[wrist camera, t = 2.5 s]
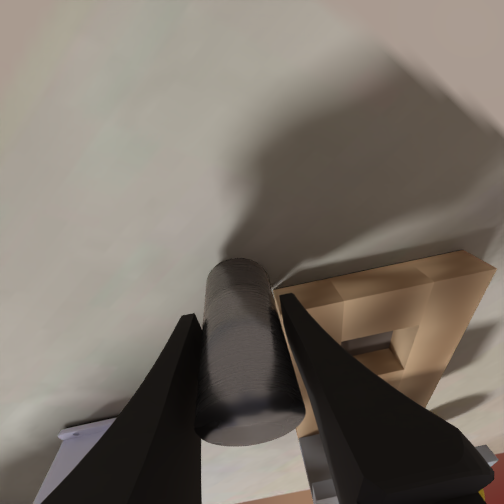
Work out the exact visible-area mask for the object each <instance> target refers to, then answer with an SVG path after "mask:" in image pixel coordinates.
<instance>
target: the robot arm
mask: <svg viewBox="0 0 504 504" xmlns="http://www.w3.org/2000/svg"><path fill="white" fill-rule="evenodd" d="M279 297H280V304H281V311H282V318H283V325H284V328H285V332H286V336H287V339H288V343H289V346H290V349H291V351H292V354H293V357H294V359H295V362H296V364H297V367H298V370H299V372H300V375H301V378H302V380H303V383H304V385H305V388H306V391H307V394H308V397H309V400H310V403H311V406H312V410H313V413H314V416H315V420H316V423H317V427H318V430H319V434H320V437H321V441H322V444H323V448H324V451H325V455H326V458H327V462H328V466H329V469H330V473H331V476H332V480H333V484H334V487H335V491H336V495H337V498H338V502H339V504H486V502H485V501H484V499H483V498H482V496H481V495H480V494H479V491H480V490H481V489H483V488H484V487H485V486H487V485H488V484H490V483H491V482H492V481H493V480H494V471H493V469H492V468H491V467H490V466H489V464H488V463H487V462H486V460H485V459H484V458H483V456H482V455H481V454H480V453H479V452H478V450H477V449H476V448H475V447H474V446H473V445H472V444H471V442H470V441H469V440H468V439H467V438H466V437H465V436H464V435H463V434H462V432H461V431H460V430H459V429H458V428H456V427H455V426H453V425H451V424H450V423H448V422H446V421H445V420H443V419H442V418H440V417H438V416H437V415H435V414H433V413H432V412H430V411H429V410H427V409H426V408H424V407H422V406H421V405H419V404H418V403H416V402H415V401H413V400H412V399H410V398H409V397H407V396H406V395H404V394H403V393H401V392H400V391H398V390H397V389H395V388H394V387H393V386H391V385H390V384H389V383H387V382H386V381H384V380H383V379H382V378H380V377H379V376H378V375H376V374H375V373H373V372H372V371H371V370H369V369H368V368H367V367H366V366H364V365H363V364H362V363H361V362H359V361H358V360H357V359H356V358H355V357H353V356H352V355H351V354H350V353H349V352H347V351H346V350H345V349H344V348H343V347H342V346H341V345H340V344H339V343H337V342H336V341H335V340H334V339H333V338H332V337H331V336H330V335H329V334H328V333H327V332H326V331H325V330H324V329H323V328H322V327H321V326H320V325H319V324H318V323H317V321H316V320H315V319H314V318H313V317H312V316H311V315H310V314H309V313H308V311H307V310H306V309H305V308H304V307H303V305H302V304H301V303H300V302H299V300H298V299H297V297H296V296H295V294H293V293H287V294H283V295H279ZM201 341H202V329H201V327H200V324H199V322H198V320H197V318H196V315H195V313H193V314H188V315H183V316H182V317H181V318H180V320H179V322H178V323H177V325H176V327H175V329H174V331H173V333H172V335H171V336H170V338H169V340H168V342H167V344H166V345H165V347H164V349H163V350H162V352H161V354H160V356H159V357H158V359H157V361H156V362H155V364H154V366H153V367H152V369H151V370H150V372H149V373H148V375H147V376H146V378H145V380H144V381H143V383H142V384H141V386H140V387H139V388H138V390H137V391H136V393H135V394H134V396H133V397H132V398H131V400H130V401H129V402H128V404H127V405H126V407H125V408H124V409H123V410H122V412H121V413H120V414H119V416H118V417H117V418H112V419H107V420H103V421H98V422H93V423H89V424H84V425H80V426H75V427H70V428H66V429H62V430H61V431H60V432H59V434H58V438H60V439H61V440H63V442H62V444H61V446H60V448H59V450H58V452H57V454H56V456H55V459H54V461H53V463H52V465H51V467H50V469H49V471H48V473H47V475H46V477H45V479H44V481H43V483H42V485H41V487H40V489H39V491H38V494H37V496H36V498H35V500H34V502H33V504H202V502H201V438H200V437H199V436H198V435H197V434H196V432H195V430H194V422H195V410H196V398H197V387H198V375H199V364H200V352H201Z"/></svg>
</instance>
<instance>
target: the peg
mask: <svg viewBox="0 0 504 504" xmlns="http://www.w3.org/2000/svg"><path fill="white" fill-rule="evenodd" d="M305 415H306V409H305V405H304V402H303V398H302V395H301V391H300V388H299V384H298V381H297V377H296V374H295V370H294V367H293V364H292V360H291V357H290V353H289V350H288V346H287V343H286V339H285V336H284V332H283V329H282V325H281V322H280V318H279V315H278V312H277V308H276V305H275V301H274V298H273V294H272V291H271V287H270V284H269V280H268V277H267V274H266V272H265V270H264V269H263V268H262V267H261V266H260V265H259V264H258V263H256V262H254V261H252V260H248V259H243V258H235V259H230V260H226V261H224V262H222V263H220V264H218V265H217V266H215V267H214V268H213V269H212V271H211V272H210V273H209V275H208V278H207V283H206V295H205V306H204V318H203V329H202V341H201V352H200V364H199V375H198V387H197V398H196V410H195V422H194V430H195V432H196V434H197V435H198V436H199V437H200V438H201V439H203V440H205V441H206V442H209V443H212V444H216V445H221V446H248V445H255V444H260V443H264V442H268V441H271V440H274V439H277V438H279V437H281V436H284V435H286V434H287V433H289V432H291V431H292V430H294V429H295V428H296V427H297V426H299V425H300V423H301V422H302V421H303V419H304V418H305Z"/></svg>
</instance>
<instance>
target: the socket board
mask: <svg viewBox="0 0 504 504" xmlns="http://www.w3.org/2000/svg"><path fill="white" fill-rule="evenodd" d="M496 270H497V268H495V267H493V266H491V265H489V264H488V263H486V262H484V261H482V260H480V259H479V258H477V257H475V256H473V255H471V254H470V253H468V252H466V251H464V250H461V251H456V252H451V253H446V254H442V255H437V256H432V257H427V258H423V259H418V260H413V261H408V262H404V263H399V264H394V265H390V266H385V267H380V268H375V269H371V270H366V271H361V272H356V273H352V274H347V275H342V276H337V277H333V278H328V279H323V280H318V281H314V282H309V283H304V284H299V285H295V286H290V287H285V288H281V289H276V290H273V293H274V299H275V305H276V308H277V312H278V315H279V318H280V322H281V325H282V329H283V332H284V336H285V339H286V343H287V346H288V350H289V353H290V357H291V360H292V364H293V367H294V370H295V374H296V377H297V381H298V384H299V388H300V391H301V395H302V398H303V402H304V405H305V409H306V415H305V418H304V419H303V421H302V422H301V423H300V425H299V426H297V427H296V432H297V436H298V440H299V444H300V448H301V452H302V457H303V461H304V465H305V469H306V473H307V478H308V482H309V486H310V490H311V494H312V498H313V503H314V504H339V502H338V498H337V495H336V491H335V487H334V484H333V480H332V476H331V473H330V469H329V466H328V462H327V458H326V455H325V451H324V448H323V444H322V441H321V437H320V434H319V430H318V427H317V423H316V420H315V416H314V413H313V410H312V406H311V403H310V400H309V397H308V394H307V391H306V388H305V385H304V383H303V380H302V378H301V375H300V372H299V370H298V367H297V364H296V362H295V359H294V357H293V354H292V351H291V349H290V346H289V343H288V339H287V336H286V332H285V328H284V325H283V318H282V311H281V304H280V297H279V295H283V294H287V293H293V294H295V296H296V297H297V299H298V300H299V302H300V303H301V304H302V305H303V307H304V308H305V309H306V310H307V311H308V313H309V314H310V315H311V316H312V317H313V318H314V319H315V320H316V321H317V323H318V324H319V325H320V326H321V327H322V328H323V329H324V330H325V331H326V332H327V333H328V334H329V335H330V336H331V337H332V338H333V339H334V340H335V341H336V342H337V343H339V344H340V345H341V346H342V347H343V348H344V349H345V350H346V351H347V352H349V353H350V354H351V355H352V356H353V357H355V358H356V359H357V360H358V361H359V362H361V363H362V364H363V365H364V366H366V367H367V368H368V369H369V370H371V371H372V372H373V373H375V374H376V375H378V376H379V377H380V378H382V379H383V380H384V381H386V382H387V383H389V384H390V385H391V386H393V387H394V388H395V389H397V390H398V391H400V392H401V393H403V394H404V395H406V396H407V397H409V398H410V399H412V400H413V401H415V402H416V403H418V404H419V405H421V406H422V407H424V408H425V407H426V405H427V403H428V401H429V400H430V398H431V396H432V394H433V392H434V390H435V388H436V386H437V384H438V382H439V380H440V378H441V376H442V374H443V372H444V370H445V369H446V367H447V365H448V363H449V361H450V359H451V357H452V355H453V353H454V351H455V349H456V347H457V345H458V343H459V341H460V339H461V338H462V336H463V334H464V332H465V330H466V328H467V326H468V324H469V322H470V320H471V318H472V316H473V314H474V312H475V310H476V308H477V307H478V305H479V303H480V301H481V299H482V297H483V295H484V293H485V291H486V289H487V287H488V285H489V283H490V281H491V279H492V277H493V276H494V274H495V272H496ZM475 448H476V449H477V450H478V452H479V453H480V454H481V455H482V456H483V458H484V459H485V460H486V462H487V463H488V464H489V466H490V467H491V466H492V465H493V464H494V463H496V462H497V461H498V459H497V458H496V456H495V455H494V454H493V452H492V451H491V450H490V449H489V448H488V446H487V445H482V446H478V447H475Z"/></svg>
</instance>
